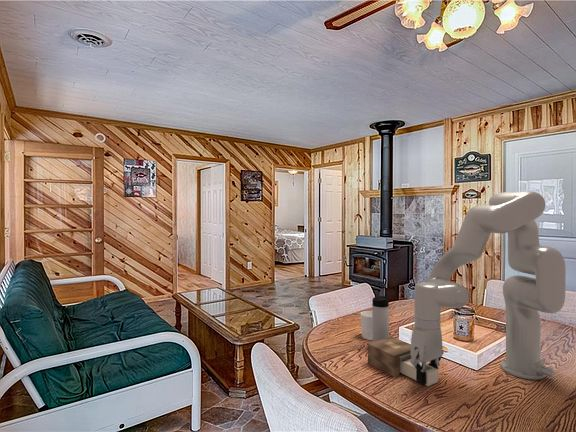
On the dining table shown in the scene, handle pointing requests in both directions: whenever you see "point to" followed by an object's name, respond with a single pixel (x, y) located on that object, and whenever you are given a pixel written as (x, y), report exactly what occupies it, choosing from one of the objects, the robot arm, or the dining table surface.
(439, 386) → the dining table surface
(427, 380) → the cream rectangular block
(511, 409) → the dining table surface
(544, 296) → the robot arm
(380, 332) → the travel mug
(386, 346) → the box
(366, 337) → the white cup
